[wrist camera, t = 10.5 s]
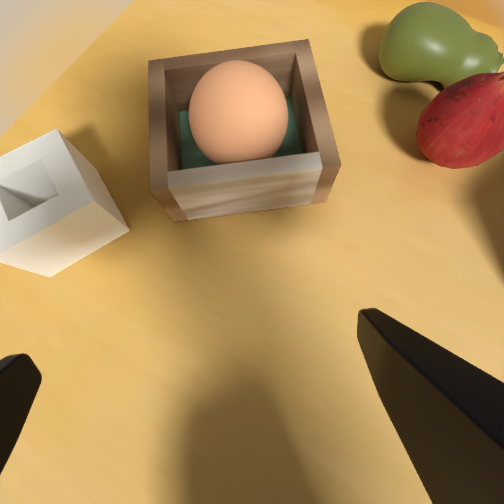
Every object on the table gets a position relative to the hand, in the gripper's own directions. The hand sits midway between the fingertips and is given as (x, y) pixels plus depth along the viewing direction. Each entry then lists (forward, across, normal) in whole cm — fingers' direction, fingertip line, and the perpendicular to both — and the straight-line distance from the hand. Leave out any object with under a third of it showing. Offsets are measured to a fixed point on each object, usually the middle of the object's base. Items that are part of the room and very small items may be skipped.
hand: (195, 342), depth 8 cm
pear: (+24, -20, -6) cm, 32 cm away
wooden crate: (+20, -2, -2) cm, 20 cm away
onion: (+18, -18, 0) cm, 25 cm away
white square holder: (+17, +12, +1) cm, 21 cm away
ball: (+19, -2, -3) cm, 20 cm away
